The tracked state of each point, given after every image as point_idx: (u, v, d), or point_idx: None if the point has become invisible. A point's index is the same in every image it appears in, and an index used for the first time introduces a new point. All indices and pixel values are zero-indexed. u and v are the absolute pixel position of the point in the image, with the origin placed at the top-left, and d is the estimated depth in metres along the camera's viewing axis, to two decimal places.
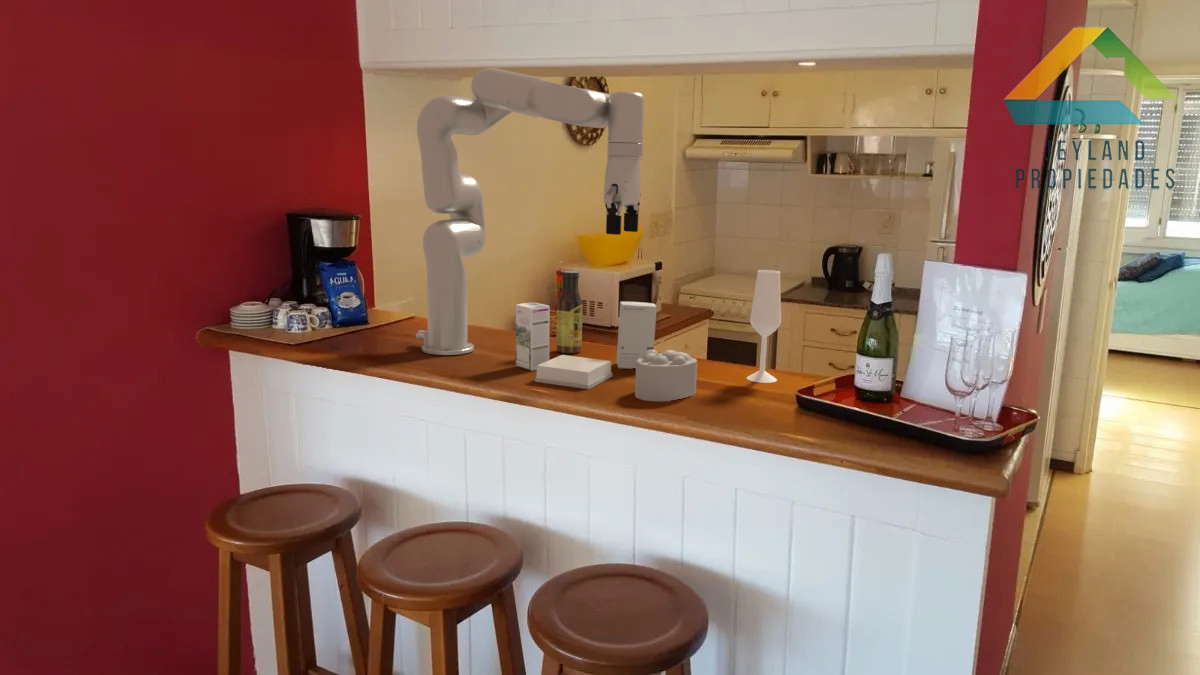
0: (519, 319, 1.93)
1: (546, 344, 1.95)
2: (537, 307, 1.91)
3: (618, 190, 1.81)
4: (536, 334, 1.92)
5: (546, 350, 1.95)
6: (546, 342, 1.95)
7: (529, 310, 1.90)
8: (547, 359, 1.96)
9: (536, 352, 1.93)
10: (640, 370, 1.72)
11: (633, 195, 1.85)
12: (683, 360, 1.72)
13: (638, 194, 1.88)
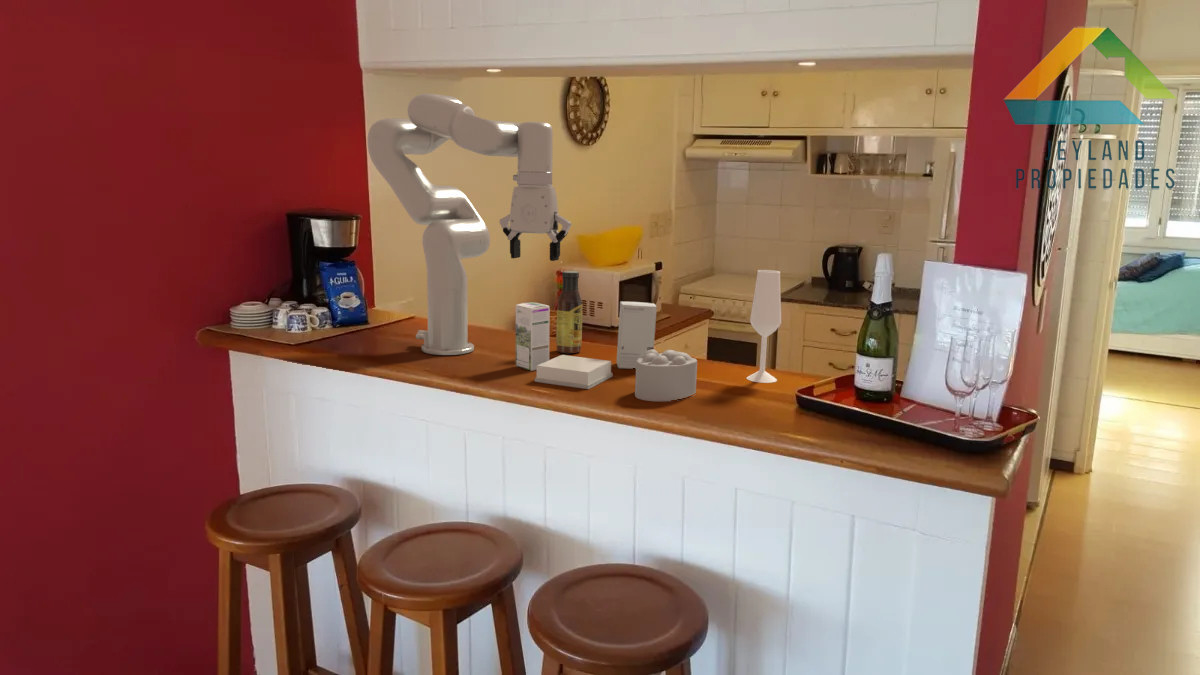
0: (519, 319, 1.93)
1: (546, 344, 1.95)
2: (537, 307, 1.91)
3: None
4: (536, 334, 1.92)
5: (546, 350, 1.95)
6: (546, 342, 1.95)
7: (529, 310, 1.90)
8: (547, 359, 1.96)
9: (536, 352, 1.93)
10: (640, 370, 1.72)
11: None
12: (683, 360, 1.72)
13: None
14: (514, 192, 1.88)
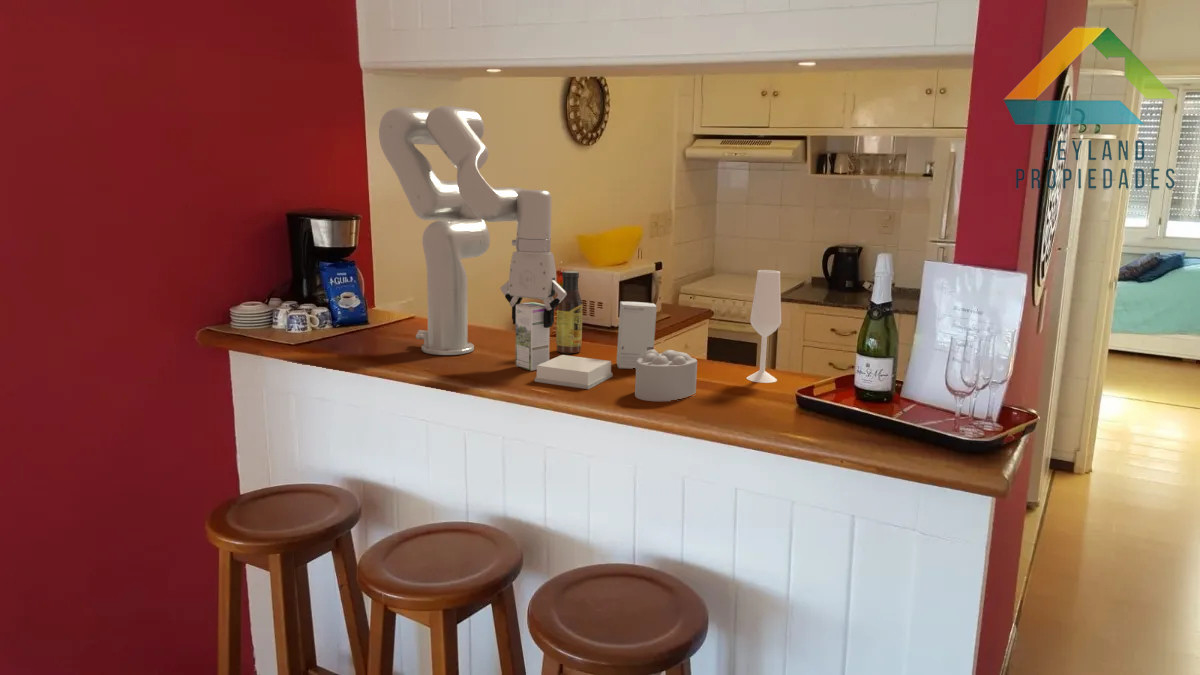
0: (519, 319, 1.93)
1: (546, 344, 1.95)
2: (537, 307, 1.91)
3: None
4: (536, 334, 1.92)
5: (546, 350, 1.95)
6: (546, 342, 1.95)
7: (529, 309, 1.90)
8: (547, 359, 1.96)
9: (536, 352, 1.93)
10: (640, 370, 1.72)
11: None
12: (683, 360, 1.72)
13: None
14: (513, 257, 1.91)
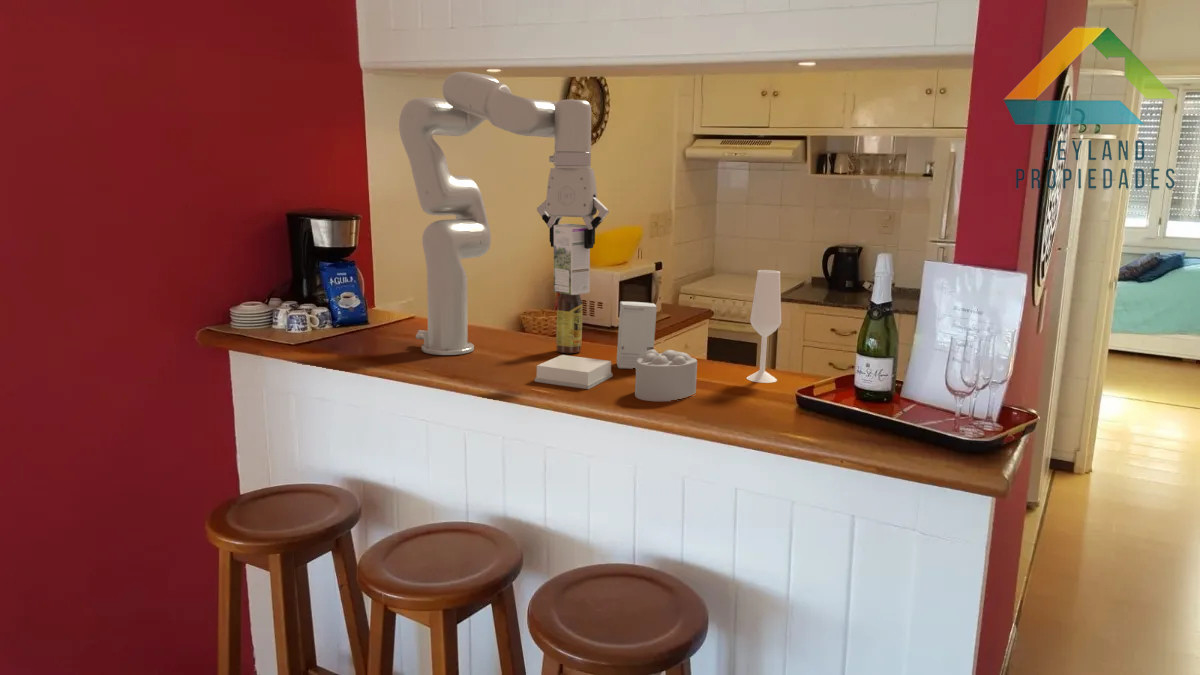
0: (558, 240, 1.81)
1: (586, 267, 1.83)
2: (577, 226, 1.79)
3: None
4: (576, 255, 1.80)
5: (586, 274, 1.83)
6: (587, 265, 1.83)
7: (569, 228, 1.78)
8: (587, 283, 1.84)
9: (576, 274, 1.81)
10: (640, 370, 1.72)
11: None
12: (683, 360, 1.72)
13: None
14: (551, 174, 1.79)
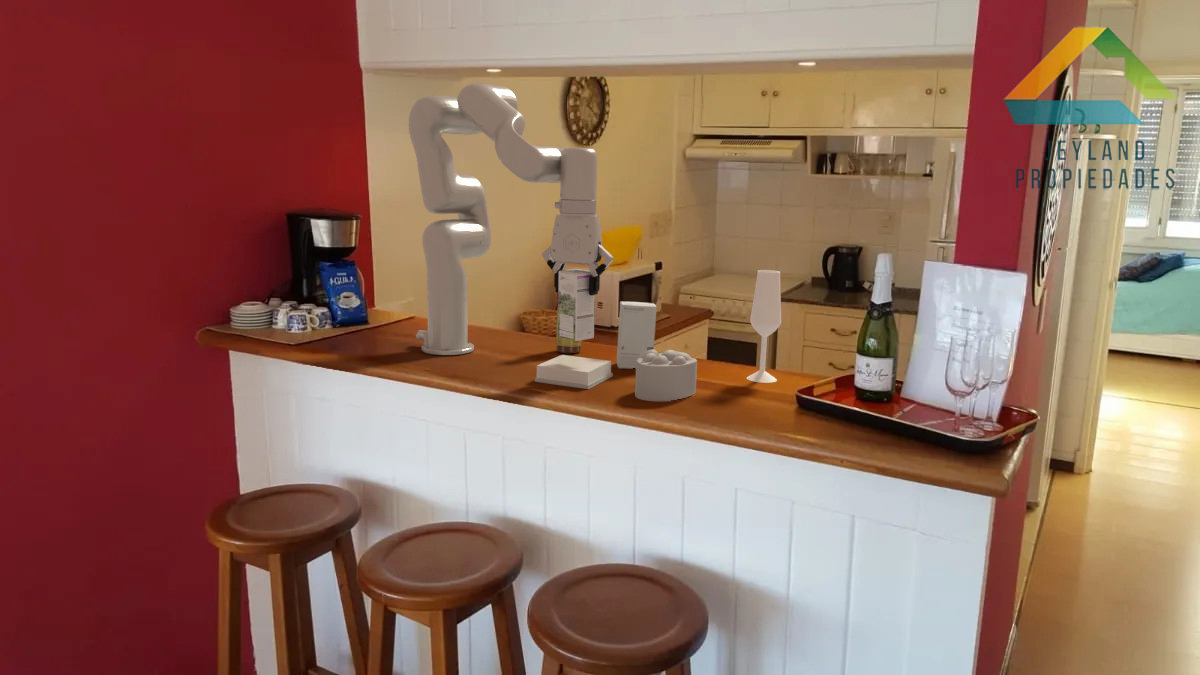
0: (562, 286, 1.82)
1: (591, 313, 1.83)
2: (582, 273, 1.80)
3: None
4: (581, 302, 1.81)
5: (591, 319, 1.84)
6: (591, 311, 1.83)
7: (574, 275, 1.79)
8: (592, 329, 1.84)
9: (581, 321, 1.82)
10: (640, 370, 1.72)
11: None
12: (683, 360, 1.72)
13: None
14: (556, 220, 1.80)
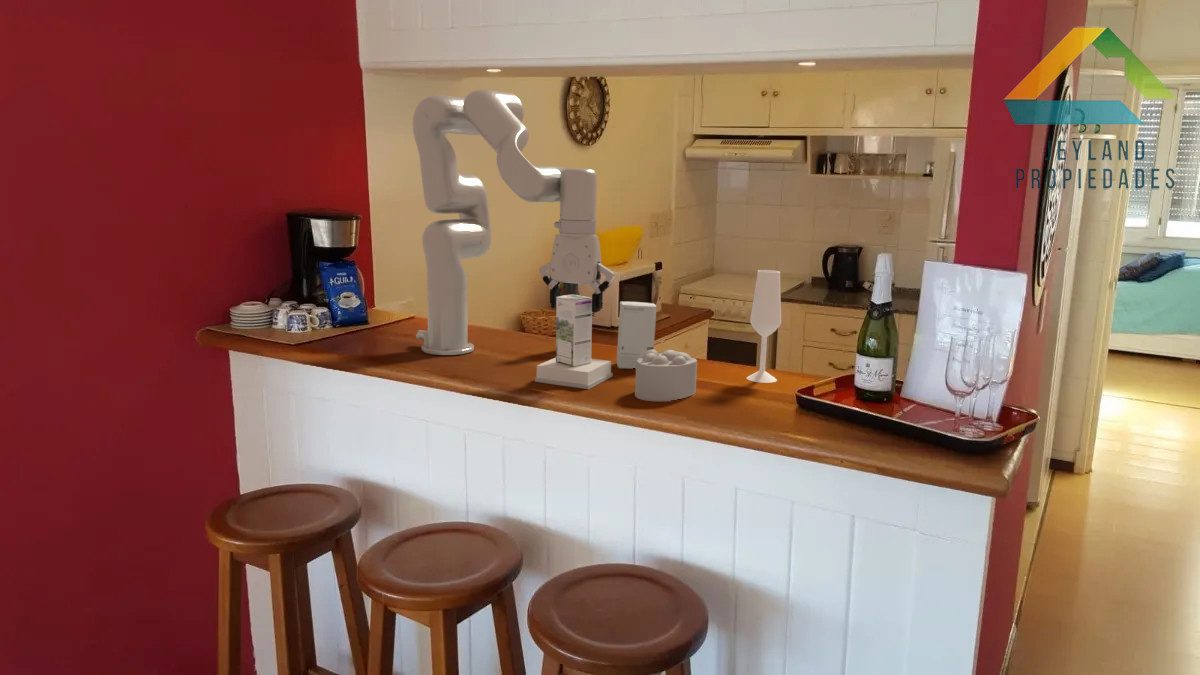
0: (560, 312, 1.83)
1: (588, 338, 1.85)
2: (580, 299, 1.81)
3: None
4: (578, 328, 1.82)
5: (588, 345, 1.85)
6: (589, 336, 1.85)
7: (572, 302, 1.80)
8: (589, 354, 1.86)
9: (578, 346, 1.83)
10: (640, 370, 1.72)
11: None
12: (683, 360, 1.72)
13: None
14: (556, 240, 1.80)
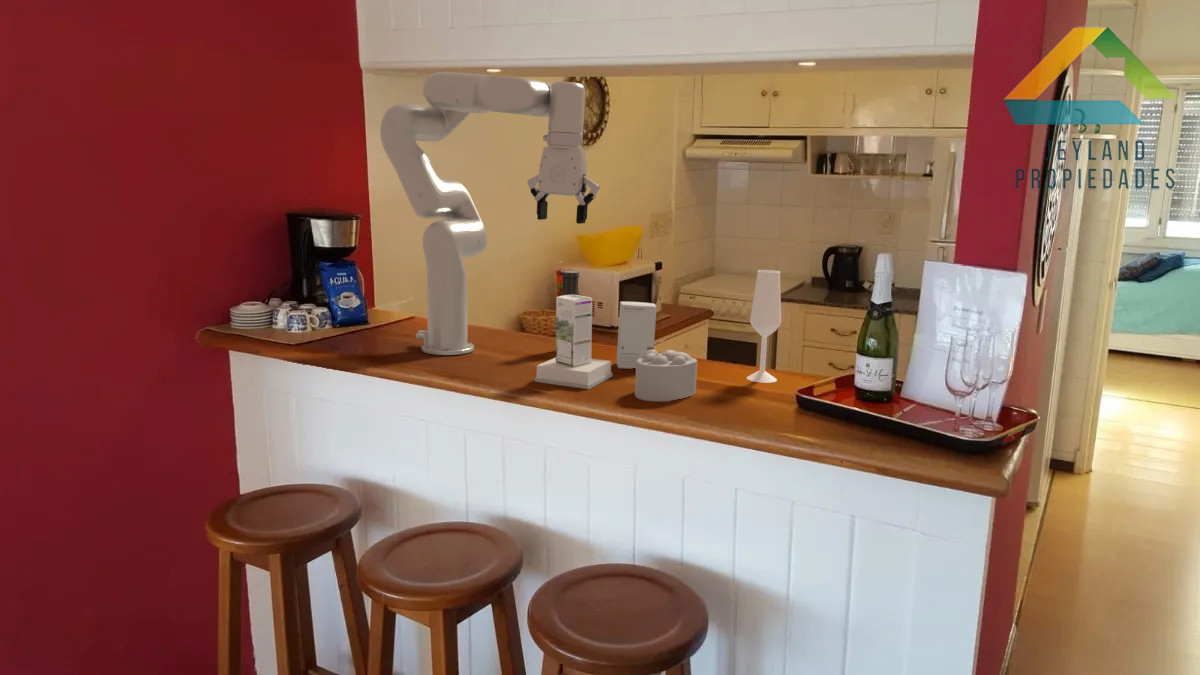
0: (560, 312, 1.83)
1: (588, 338, 1.85)
2: (580, 299, 1.81)
3: None
4: (578, 328, 1.82)
5: (588, 345, 1.85)
6: (589, 336, 1.85)
7: (572, 302, 1.80)
8: (589, 354, 1.86)
9: (578, 346, 1.83)
10: (640, 370, 1.72)
11: None
12: (683, 360, 1.72)
13: None
14: (543, 152, 1.87)
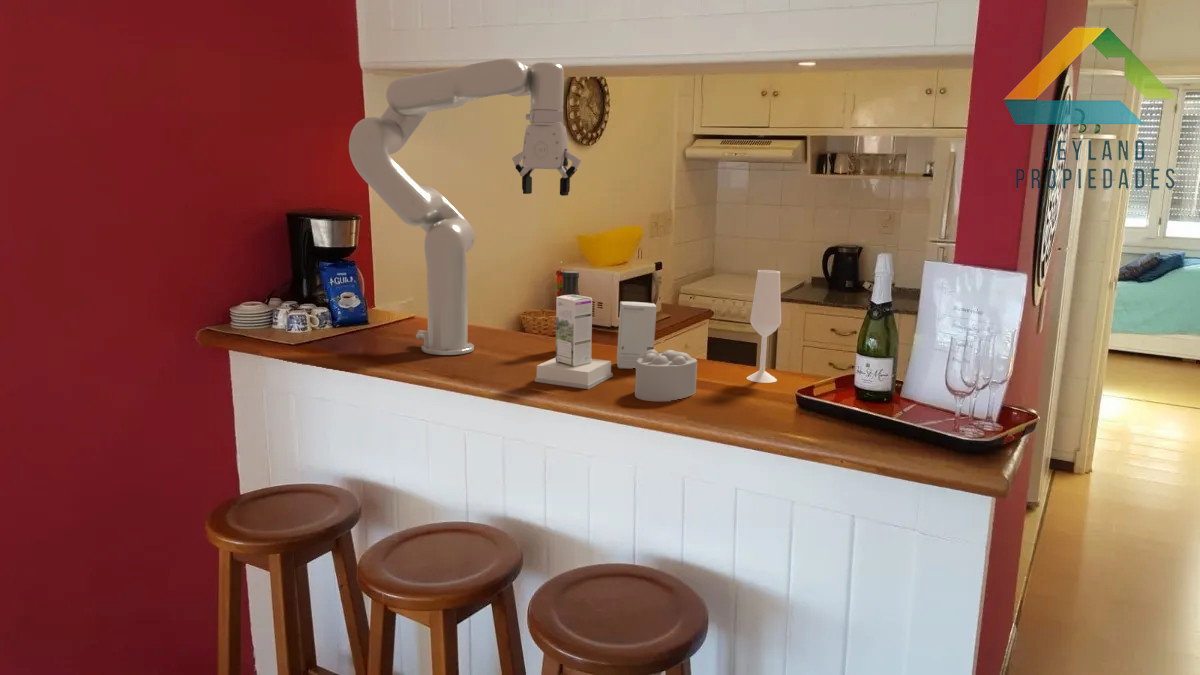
0: (560, 312, 1.83)
1: (588, 338, 1.85)
2: (580, 299, 1.81)
3: None
4: (578, 328, 1.82)
5: (588, 345, 1.85)
6: (589, 336, 1.85)
7: (572, 302, 1.80)
8: (589, 354, 1.86)
9: (578, 346, 1.83)
10: (640, 370, 1.72)
11: None
12: (683, 360, 1.72)
13: None
14: (527, 130, 1.99)
